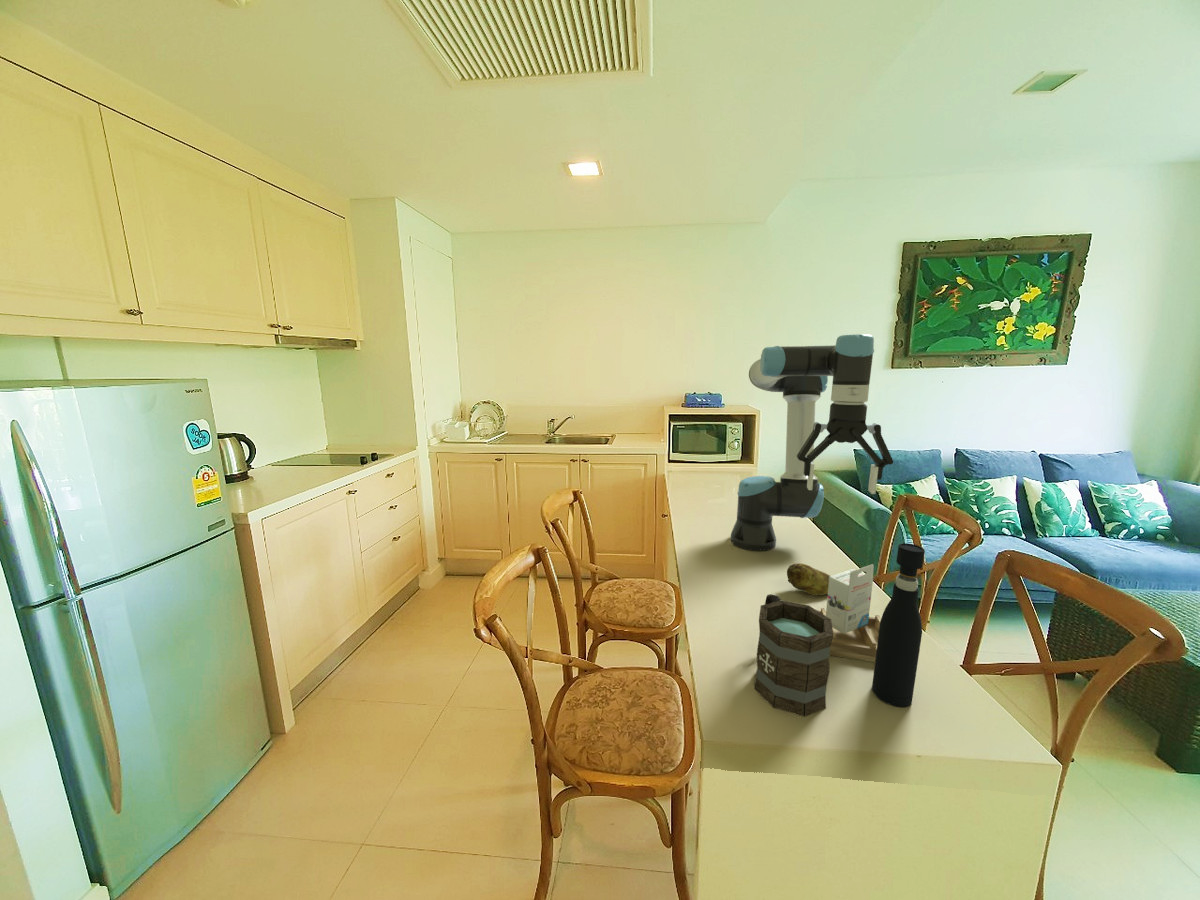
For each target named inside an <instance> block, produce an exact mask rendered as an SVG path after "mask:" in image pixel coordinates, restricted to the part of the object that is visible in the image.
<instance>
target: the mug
mask: <svg viewBox="0 0 1200 900" xmlns="http://www.w3.org/2000/svg"><path fill="white" fill-rule="evenodd" d="M819 611H820V610H819ZM819 611H817V609H815V608H813V607H812V606H811V605H808V604H803V603H797V602H792V601H787V600H781V598H780V597H779V595H776V594H772V593H771V594H767V595H766V597H765V601H764V604H762V605H760V609H759V614H758V615H759V616H758V626H759V636H758V642H757V650H756V673H755V681H754V690H755V691H756V692H757V693H758V694H759V695H760V696H761V697H762V698H763V700H765V701H766V702H767V703H768V704H769V705H770V706H771V707H772V708H773V709H777V710H779V711H780V710H781V711H784V712H788V713H790V714H793V715H796V716H797V715H798V716H801V717H803V718H805V717H808V716H810V715H812V714H815V713H817V712H820V711H823V710H825V709H827V704H826V703H827V702H826V701H827V700H826V699H827V698H826V697H827V695H826V693H827V687H828V686H827V684H828V679H829V675H830V656H831V655H830V646H831V642H832V638H833V629H832V621H831V619H830V618H828V617H827V616H825V615H823V614H822V613H820V612H819Z"/></svg>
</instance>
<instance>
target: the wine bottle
mask: <svg viewBox="0 0 1200 900" xmlns="http://www.w3.org/2000/svg"><path fill="white" fill-rule="evenodd" d="M925 553H926V549H924V547H922V546H920V545H917V544H912V543H907V542H906V543H905V542H904V543H900V544H899V545H898V546H897V554H896V564H898V565H899V571H898V574H897V576H896V577H895V582H894V584H893V588H892V596H891V598H890V599H889V602H888V603H887V605H886V606H885V608H884V611H883V613H882V615H881V617H880V618H881V621H880V627H879V635H878V643H877V651H876V659H875V662H874V669H873V677H872V685H871V690H872V692H873V694H874V695H875V696H876V697H877V698H878V699H879V700H880V701H882V702H884V703H886V704H888V705H890V706H892V707H893V706H894V707H897V708H906V707H909V706H911V705H912V703H913V697H914V692H915V691H914V690H915V684H916V677H917V671H918V664H919V656H920V651H921V650H920V648H921V642H922V636H923V624H922V619H921V618H922V617H921V614H920V610H919V606H918V598H919V592H920V590H919V588H918V587H919V586H918V585H919V581H918V578H917V577H918V574H917V573H918V570H921V569H923V566H924V560H925Z"/></svg>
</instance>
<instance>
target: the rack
mask: <svg viewBox="0 0 1200 900" xmlns="http://www.w3.org/2000/svg"><path fill="white" fill-rule="evenodd" d="M816 610H817V609H816ZM817 611H819V612H820V613H822V614H823V615H825V616H826V608H823V607H821V608H820V610H819V609H818V610H817ZM881 618H882V617H881V616H880V615H879V614H875V617H873V616H869V620H868V624H867V625H864V626H862V627H860V628H857V629H855V630H853V631H850V632H848V633H846V634H843V633H842V632H840V631H838V630H836V629H834V628H833V627H832V629H833V638H832V642H831V646H830V655H829V656H833V657H838V658H845V659H852V660H853V659H854V660H859V661H866V662H872V663H875V659H876V651H877V643H878V635H879V627H880V621H881Z"/></svg>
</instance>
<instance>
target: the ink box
mask: <svg viewBox="0 0 1200 900" xmlns="http://www.w3.org/2000/svg"><path fill="white" fill-rule="evenodd" d="M873 583H874V564H873V563H872V564H870V565H869V564H868V565H865V566H863V567H860V568H857V569H855V568H851V569H847V570H845V571H841V572H838V573H836V574H833V575H830V576H829V586H828V594H827V597H826V598H827V600H826V607H825V611H826V616H827V617H828V618H830V619H831V621H832V627H833V628H834V629H836V630H838V631H840V632H842V633H843V634H846V633H848V632H850V631H853V630H855V629H857V628H860V627H862V626H864V625H867V624H868V620H869V617H870V609H871V603H872V602H871V599H872V591H873Z"/></svg>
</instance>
